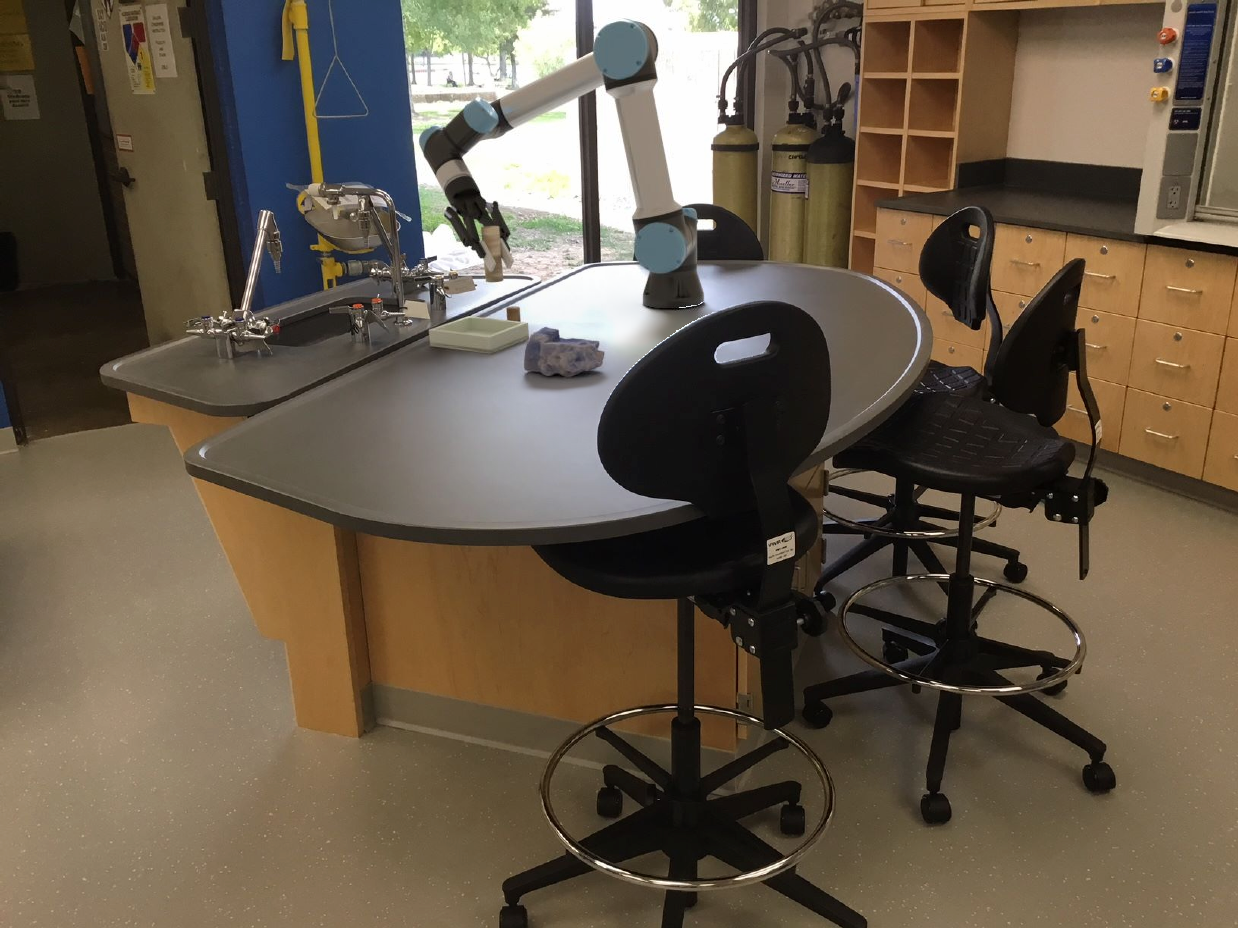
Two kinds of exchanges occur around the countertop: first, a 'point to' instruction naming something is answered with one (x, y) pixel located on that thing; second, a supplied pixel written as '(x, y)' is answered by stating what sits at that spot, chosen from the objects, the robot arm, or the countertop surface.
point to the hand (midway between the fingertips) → (501, 266)
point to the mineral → (560, 354)
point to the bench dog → (513, 313)
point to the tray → (479, 334)
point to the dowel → (493, 252)
